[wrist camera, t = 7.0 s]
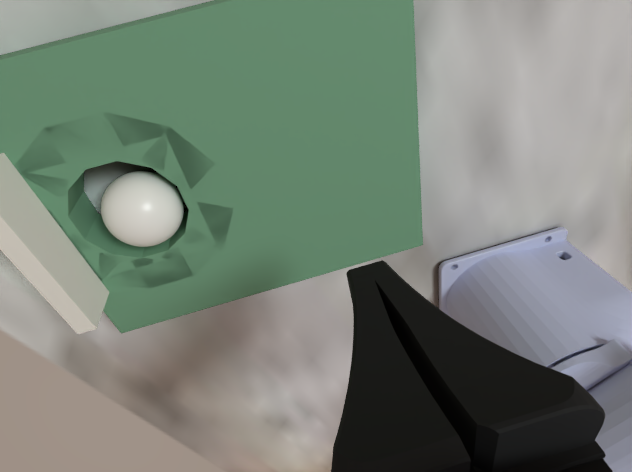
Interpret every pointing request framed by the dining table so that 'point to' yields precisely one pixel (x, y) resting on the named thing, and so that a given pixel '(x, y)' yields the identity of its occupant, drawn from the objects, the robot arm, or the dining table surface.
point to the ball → (142, 208)
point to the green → (213, 152)
